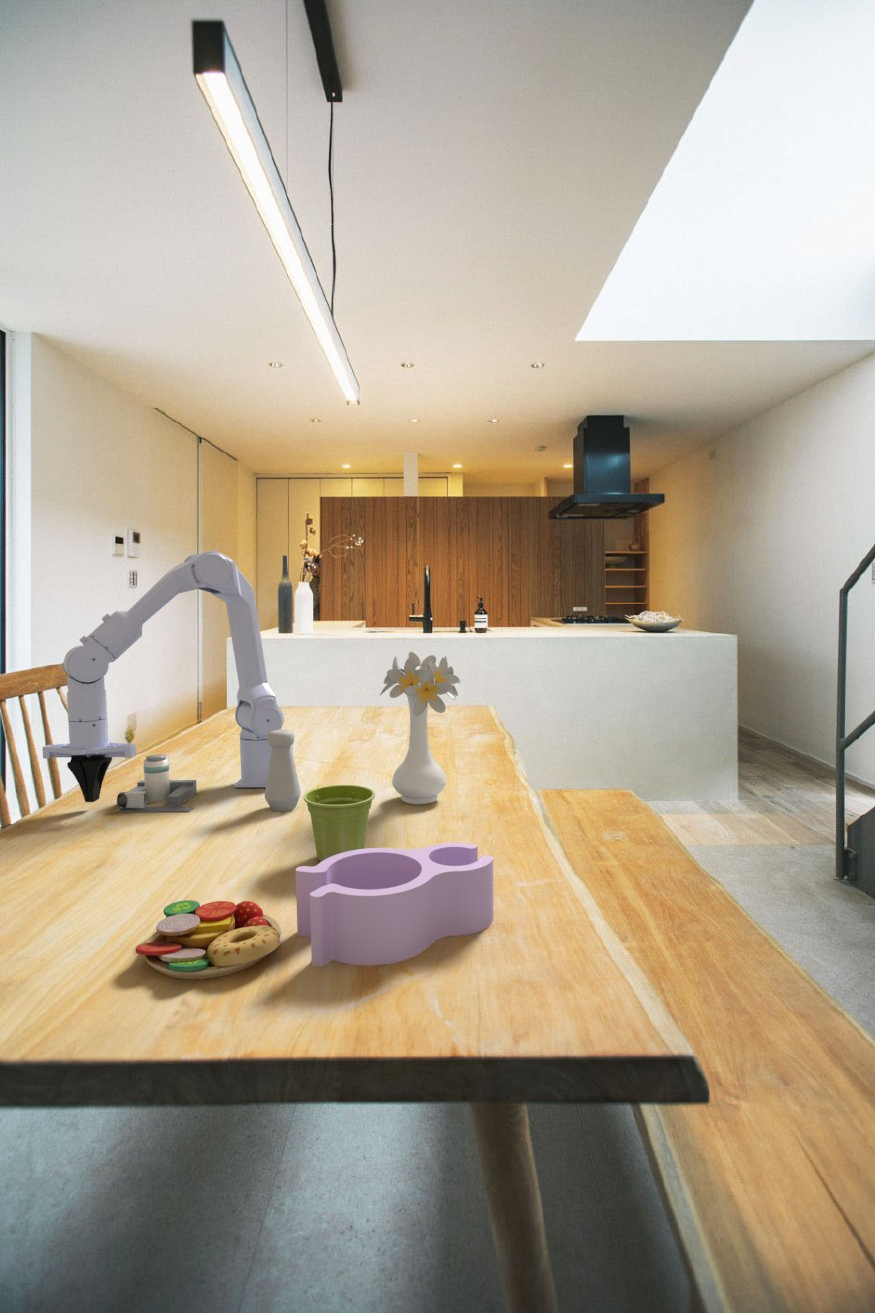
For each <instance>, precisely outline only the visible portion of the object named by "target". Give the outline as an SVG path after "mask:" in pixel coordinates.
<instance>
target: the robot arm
mask: <svg viewBox="0 0 875 1313" xmlns="http://www.w3.org/2000/svg"><path fill="white" fill-rule="evenodd" d="M195 590H200V591H204V592H207V593H210V594H211V595H213V596H215V597H216V598H218V599H219V600H220V601H222V602H224V603H225V605H226V611H227V617H228V624H229V631H230V636H231V642H232V647H233V648H232V649H233V656H234V661H235V666H236V667H235V668H236V672H237V679H238V680H237V681H238V685H239V686H238V690H237V693H236V699H237V706H236V708H235V713H234V717H235V718H234V719H235V722H236V723H237V725H238V726H239V727H240V728H241V730H240V733H239V751H240V752H239V753H240V754H239V755H240V756H239V757H240V779H239V780H238V781H237V782H236V783H234V785H233V786H234V788H236V789H237V788H266V784H267V777H268V771H269V764H270V756H271V748H272V746H270V745H268V740H267V738H268V734H269V733H270V732H271V731H274V730H280V729H282V727H283V725H284V723H285V722H284V721H285V718H284V717H285V716H284V713H283V710H282V709H281V708H280V707H279V706H278V702H277V697H276V695H275V693H274V691H273V689H272V688H271V686H270V685H269V682H268V674H267V668H266V663H265V655H264V648H263V643H262V635H261V630H260V622H259V616H258V609H257V603H256V596H255V590H254V588H253V586H252V584H251V583H250V582H249V581H248V580H247V578H246V577H245V576H244V575H243V574H242V572H241V571H240V570H239V568H238V567H237V564H236V561H235V560H233V559H231V558H230V557H229V556H227V555H225V554H224V553H221V552H219V551H215V550H209V551H205V552H203V553H195V554H191V555H189V556H188V557H186V558H185V560H184V561H183V562H180V563H179V564H177V565H176V566H174V567H172V569H170V570H169V571H168V572H166V573H165V574H164V575H163V576H162V577H161V578H160V579H159V580H158V581H157V582H156V583H155V584H154V585H153V586H152V587H151V588H150V589H149V590H148V591H147V592H146V593H144V595H143V596H142V597H141V598H139V599H138V601H136V603H135V604H133V605H132V607H131V608H130V609H128V610H127V611H126V610H125V611H119V610H117V611H114V612H113V613H111V614H110V613H106V614H105V615H104V616H102V617H101V620H102V621H103V622H102V623H101V624H99V625H98V626H97V627H96V628H95V629H94V630H93V631H91V633H90V634H89V635H87V636H86V635H83V636H82V637H81V638H80V639H79V642H80V643H81V644H82V645H78V646H74V647H72V648H71V649H69V650H68V651H67V652H66V654H65V656H64V659H63V662H62V663H61V665H62V669H63V671H64V673H65V674H66V675H67V677H66V679H67V681H66V687H67V691H66V702H67V704H66V705H67V722H68V739H69V740H68V741H69V743H59V744H58V743H57V744H56V743H55V744H47V745H44V746H42V749H41V750H42V759H51V758H52V759H53V758H70V760H69V761H68V762H67V763H66V764H67V768H68V769H69V771H70V772H71V773H72V774H73V776H74V777H75V779H76V781H77V782H78V785H79V788H80V790H81V793H82V795H83V798H84V802H85V803H94V802H96V801H98V800H99V799H100V796H101V791H102V790H101V789H102V787H103V782H104V778H105V776H106V773H107V771H108V769H109V766H110V764H111V763H112V761H113V758H125V759H132V758H134V757H136V756H137V744H135V743H120V742H110V741H109V726H108V725H109V723H108V709H107V707H108V706H107V704H108V703H107V691H106V687H105V676H106V675H107V673H108V671H109V665H110V663H114V662H116V660H118V659H119V658H120V657H121V656H122V655H123V654H124V653H125V652H126V651H127V650H128V649H129V648H130V647H132V645H134V644H135V643H136V642H137V641H138V640H139V639H140V638H141V637H142V636H143V626H144V624H145V623H146V622H147V621H148V620H150V618H152V617H154V615H155V614H157V613H158V612H159V611H160V610H161V609H163V607H165V606H166V605H167V604H168V603H170V602H171V601H172V600H173V599H174V598H175V597H177V596H178V595H179V594H183V593H187V592H191V591H195ZM293 744H294V743H293ZM293 744H292V745H291V749H292V753H293V754H294V748H293V746H294V745H293Z"/></svg>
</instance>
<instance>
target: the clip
mask: <svg viewBox="0 0 875 1313" xmlns="http://www.w3.org/2000/svg"><path fill="white" fill-rule="evenodd" d="M478 848H479V847H478V845H477V844H474V843H468V842H458V841H457V842H441V843H434V844H431V845H428V846H426V847H421V848H415V849H411V848H410V849H403V848H394V847H393V848H392V847H369V848H368V847H366V848H365V847H364V849H357V850H352V851H347V852H343V853H340V854H336V855H334V856H331V857H329V858H327V859H325V860H323V861H322V862H320V861H319V863H318V864H317V865H314V866H306V865H301V866H298V867H297V868H295V892H296V893H295V894H296V896H295V897H296V898H295V899H296V900H295V901H296V926H297V927H296V929H297V930H296V932H297V933H296V934H297V935H298V936H303V937H310V948H311V949H310V951H311V952H310V953H311V954H310V955H311V965H313V966H314V967H323V966H325V965H326V964H328V963H330V962H331V961H337V962H340V963H344V964H348V965H356V966H380V965H383V966H384V965H388V964H389V965H390V964H395V963H399V962H402V961H406V960H408V959H411V958H413V957H416V956H419V954H421V953H423V952H424V951H426V950H427V949H428V948H429V947H430V946H431V945H432V944H433V943H434V942H435V941H438V940H439V939H442V938H446V937H451V936H466V935H471V934H476V933H479V932H482V931H484V930H485V929H487V928H488V927H490V926H491V925H492V924H493V922H494V913H495V912H494V856H492V855H481V856H480V857H478V856H479V855H478V853H479V852H478V850H479V849H478ZM478 858H479V859H478Z"/></svg>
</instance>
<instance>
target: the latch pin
mask: <svg viewBox="0 0 875 1313" xmlns="http://www.w3.org/2000/svg"><path fill="white" fill-rule="evenodd" d="M116 804H117V807H118V808H122V807H126V808H145V807H146V806H148V802H147V791H136V792H128V791H125V792H123V791H121V792H119V793H118V795H117V797H116Z"/></svg>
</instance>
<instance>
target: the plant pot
mask: <svg viewBox="0 0 875 1313" xmlns="http://www.w3.org/2000/svg"><path fill="white" fill-rule="evenodd" d="M375 796H376V792H375V790H373V789H372V788H369V787H367V786H362V785H357V784H356V785H355V784H335V785H334V784H333V785H332V784H331V785H325V786H320V787H317V788H316V787H315V788H313V789H310V790H308V791H307V792H305V793H304V795H303V801H304V802H305V803H306V806H307V810H308V812H309V814H310V815H309V816H310V820H311V827H312V833H313V840H314V846H315V852H316V858H317V859H318V860H319V863H320V862H322V861H323V860H325V859H327V858H329V857H331V856H334V855H336V854H340V853H343V852H347V851H352V850H357V849H365V844H366V836H367V830H368V829H367V828H368V822H369V814H370V813H369V812H370V809H371V807H372V802H373V800H374V799H375V798H376V797H375Z"/></svg>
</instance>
